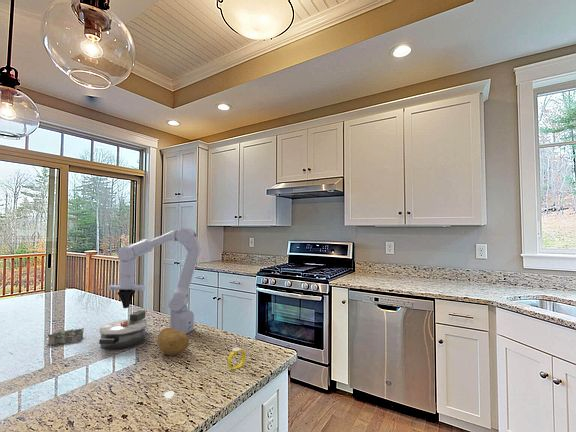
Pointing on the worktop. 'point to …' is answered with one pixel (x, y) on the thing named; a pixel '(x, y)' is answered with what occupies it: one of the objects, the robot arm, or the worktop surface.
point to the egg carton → (65, 336)
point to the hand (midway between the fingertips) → (126, 307)
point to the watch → (234, 350)
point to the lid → (125, 325)
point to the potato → (172, 341)
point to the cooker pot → (122, 340)
